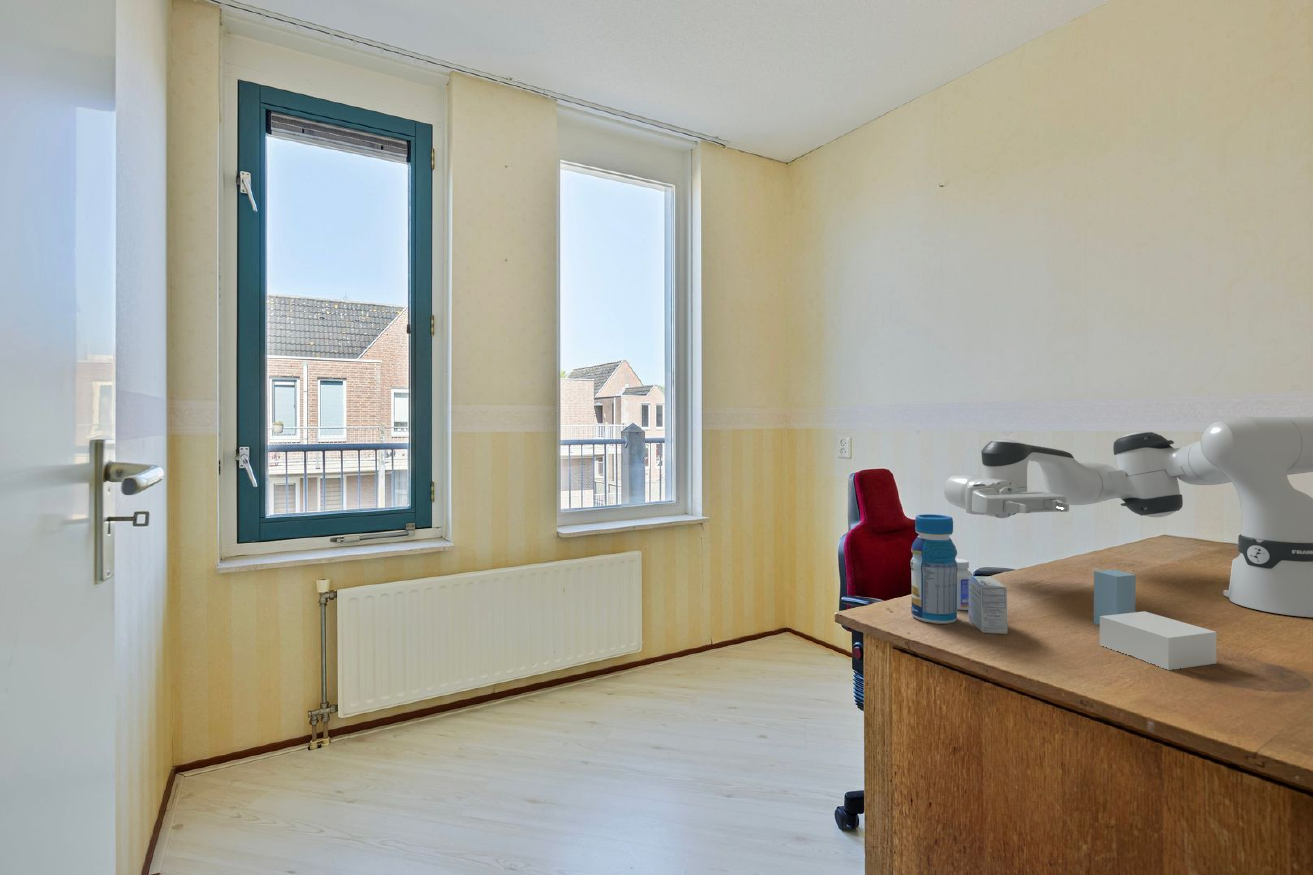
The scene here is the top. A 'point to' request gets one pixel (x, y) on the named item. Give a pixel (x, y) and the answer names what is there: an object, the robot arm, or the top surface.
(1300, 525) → the robot arm
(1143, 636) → the block
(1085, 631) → the top surface
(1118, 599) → the block
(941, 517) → the beverage bottle
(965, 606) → the pill bottle
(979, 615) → the medicine box
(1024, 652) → the top surface
